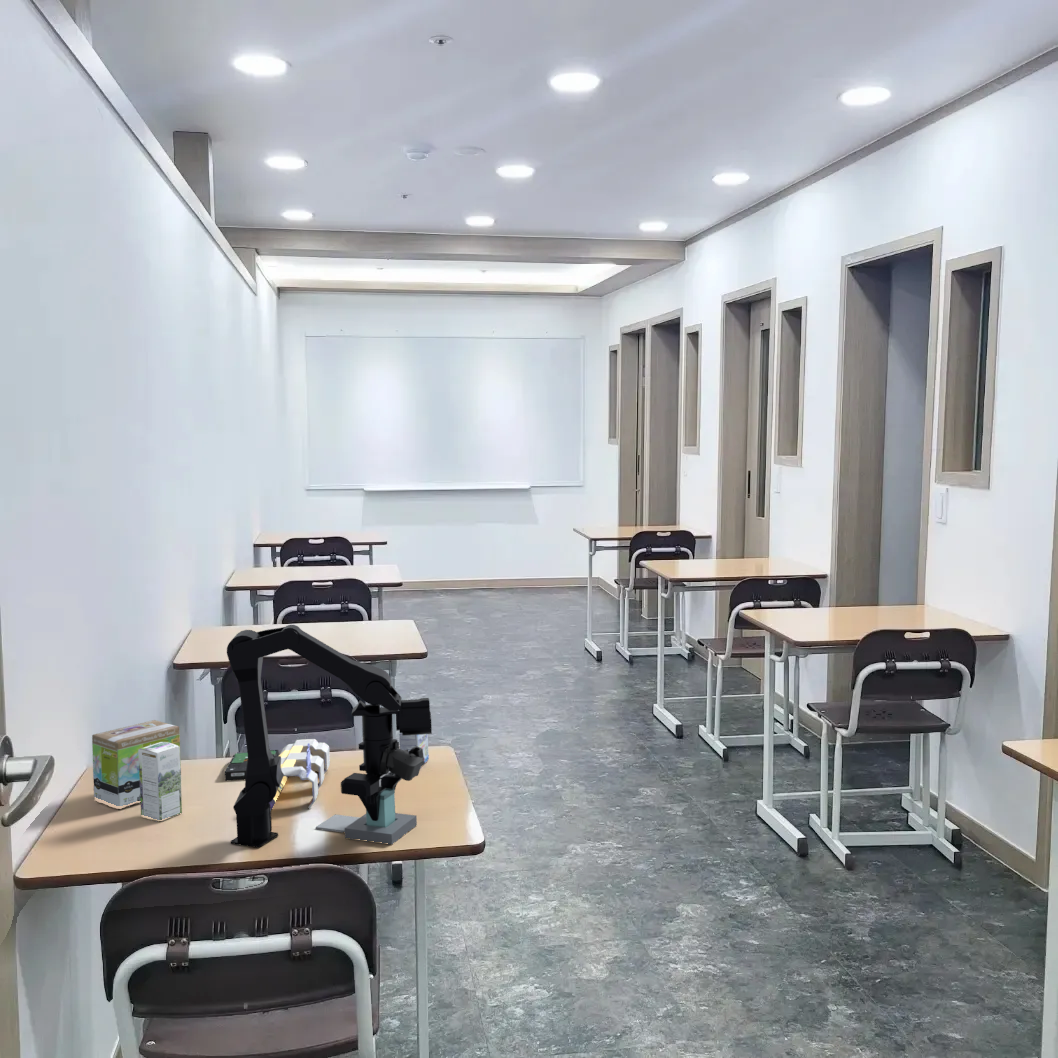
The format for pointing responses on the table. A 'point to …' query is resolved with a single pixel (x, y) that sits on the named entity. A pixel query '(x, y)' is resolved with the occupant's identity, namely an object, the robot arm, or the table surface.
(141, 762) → the syrup box
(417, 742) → the medicine box
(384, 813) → the plug
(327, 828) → the pad
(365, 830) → the socket
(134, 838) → the table surface
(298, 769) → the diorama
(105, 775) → the tea box
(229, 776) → the disk drive
